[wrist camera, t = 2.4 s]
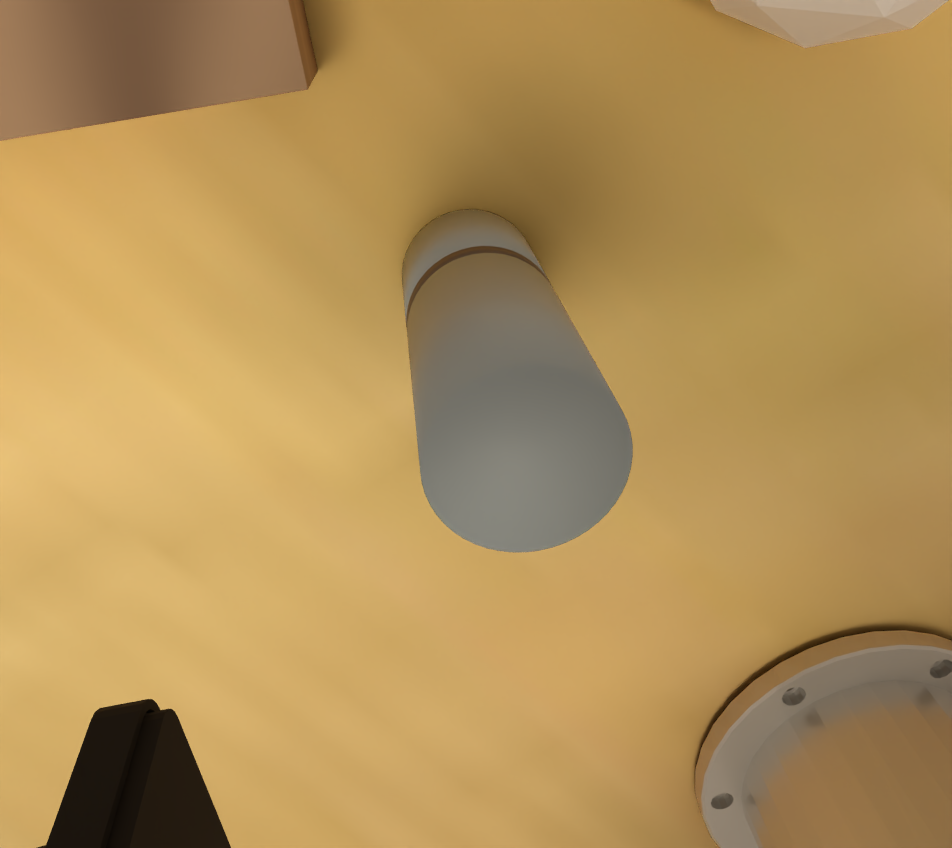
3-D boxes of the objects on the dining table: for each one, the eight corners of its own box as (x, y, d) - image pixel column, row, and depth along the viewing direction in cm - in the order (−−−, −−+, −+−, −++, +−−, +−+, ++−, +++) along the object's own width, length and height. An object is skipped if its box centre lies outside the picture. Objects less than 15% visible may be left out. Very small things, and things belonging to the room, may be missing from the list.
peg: (526, 198, 25) (625, 346, 15) (541, 326, 27) (639, 532, 17) (390, 221, 25) (402, 385, 15) (414, 348, 27) (438, 568, 17)
